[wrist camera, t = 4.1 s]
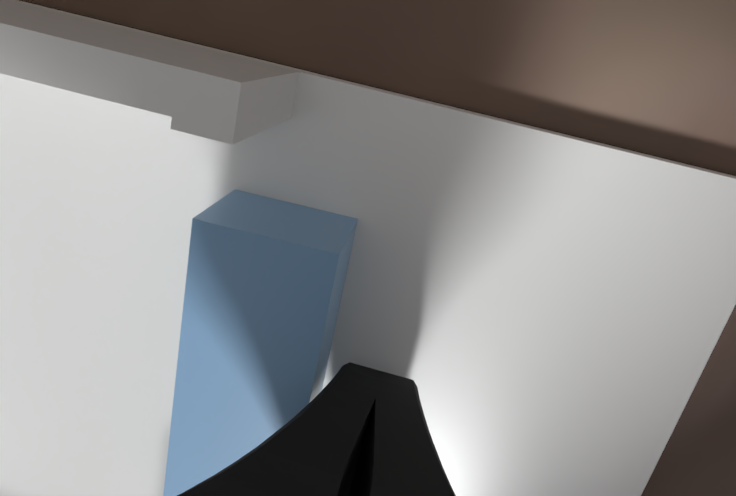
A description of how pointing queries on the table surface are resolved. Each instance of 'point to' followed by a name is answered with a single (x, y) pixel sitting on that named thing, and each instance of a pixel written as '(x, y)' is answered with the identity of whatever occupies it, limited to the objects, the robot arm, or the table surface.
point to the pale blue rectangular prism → (252, 327)
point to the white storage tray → (365, 269)
